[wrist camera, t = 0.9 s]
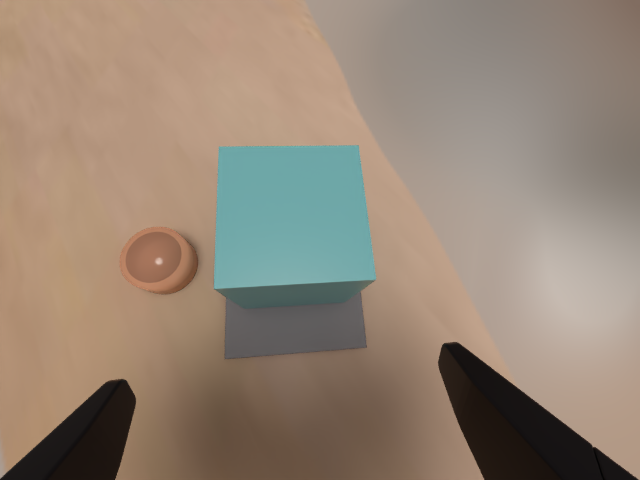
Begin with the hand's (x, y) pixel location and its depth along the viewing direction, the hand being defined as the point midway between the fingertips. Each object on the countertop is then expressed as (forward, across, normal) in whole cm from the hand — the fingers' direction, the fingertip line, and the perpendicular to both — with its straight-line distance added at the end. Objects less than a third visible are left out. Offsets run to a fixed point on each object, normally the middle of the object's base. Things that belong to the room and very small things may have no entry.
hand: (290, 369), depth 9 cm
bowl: (+14, +10, +5) cm, 18 cm away
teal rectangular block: (+14, 0, +5) cm, 15 cm away
